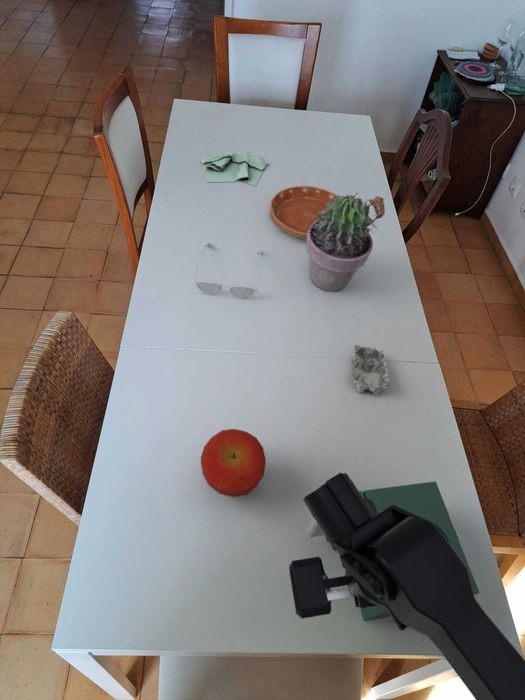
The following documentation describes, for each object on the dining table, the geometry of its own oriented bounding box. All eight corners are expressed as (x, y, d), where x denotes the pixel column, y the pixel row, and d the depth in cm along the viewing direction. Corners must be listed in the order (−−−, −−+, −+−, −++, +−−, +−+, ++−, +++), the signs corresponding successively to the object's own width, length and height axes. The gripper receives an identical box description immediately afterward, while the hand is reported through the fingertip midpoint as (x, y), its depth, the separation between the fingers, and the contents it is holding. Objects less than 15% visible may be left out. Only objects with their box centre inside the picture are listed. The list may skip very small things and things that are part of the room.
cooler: (371, 619, 71) (398, 607, 61) (344, 516, 80) (364, 490, 70) (441, 607, 73) (479, 592, 63) (407, 507, 82) (435, 481, 72)
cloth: (275, 162, 147) (276, 155, 145) (246, 196, 134) (247, 189, 133) (219, 143, 151) (219, 136, 149) (186, 175, 138) (185, 167, 136)
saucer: (254, 224, 127) (255, 213, 124) (291, 186, 140) (293, 175, 137) (327, 257, 122) (330, 246, 119) (359, 214, 135) (362, 204, 132)
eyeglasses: (193, 292, 109) (193, 280, 106) (205, 244, 120) (205, 231, 117) (257, 300, 110) (258, 289, 106) (263, 251, 120) (264, 239, 117)
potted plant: (279, 258, 120) (293, 172, 100) (347, 251, 124) (374, 167, 104) (299, 308, 109) (319, 223, 89) (372, 299, 114) (408, 216, 94)
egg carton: (383, 398, 96) (389, 388, 93) (348, 391, 96) (353, 381, 93) (383, 358, 103) (389, 347, 99) (350, 352, 103) (355, 341, 100)
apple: (255, 516, 79) (261, 491, 69) (194, 503, 79) (192, 477, 70) (265, 457, 86) (273, 427, 76) (209, 446, 86) (210, 415, 76)
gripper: (437, 484, 53) (409, 507, 66) (278, 511, 52) (283, 528, 66) (473, 592, 47) (434, 592, 61) (296, 622, 47) (297, 616, 61)
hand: (360, 579), depth 62 cm, fingers open, 9 cm apart
